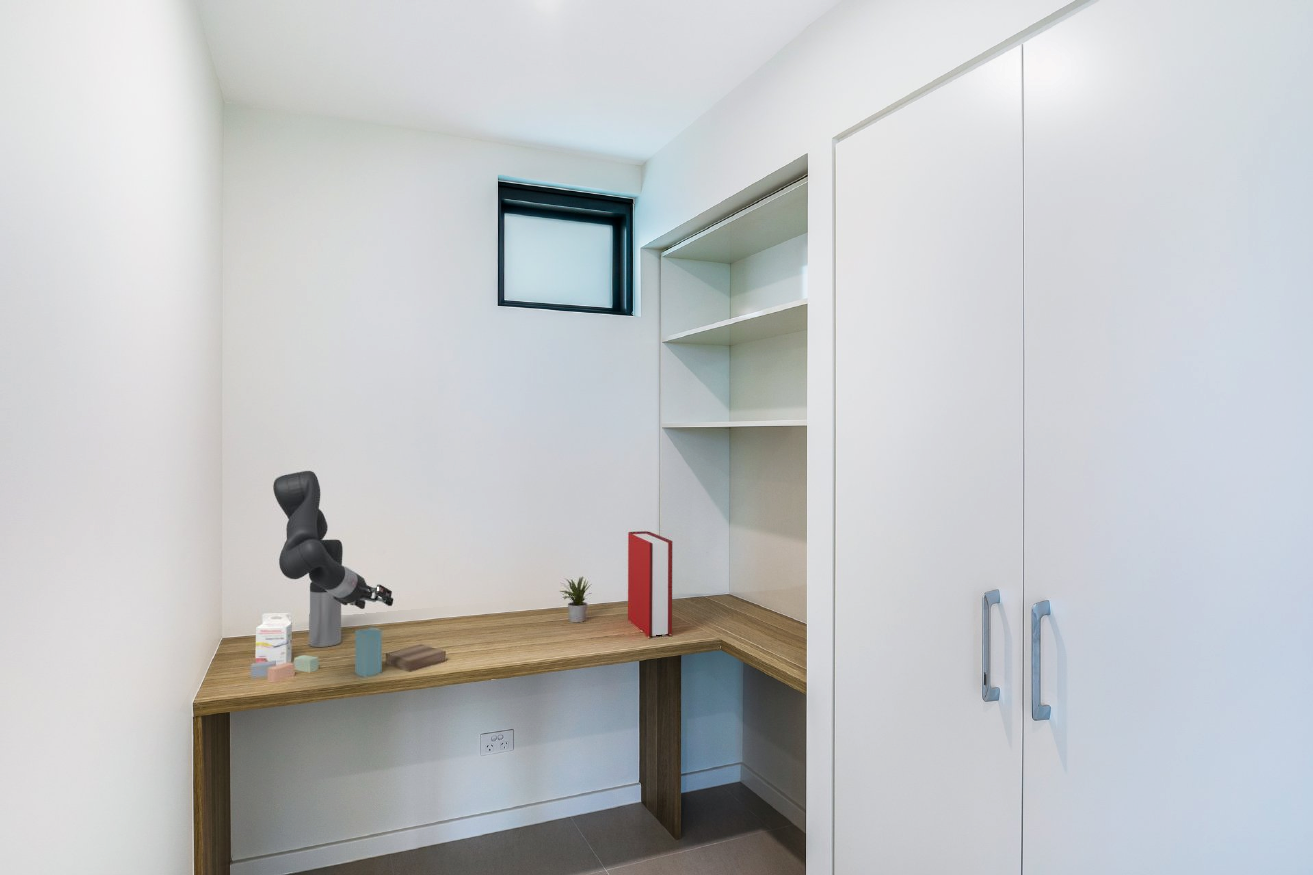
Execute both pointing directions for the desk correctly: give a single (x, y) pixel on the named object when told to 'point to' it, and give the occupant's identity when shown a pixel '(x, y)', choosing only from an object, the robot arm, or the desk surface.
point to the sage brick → (306, 663)
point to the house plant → (577, 601)
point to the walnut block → (415, 657)
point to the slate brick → (261, 669)
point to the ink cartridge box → (274, 639)
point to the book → (650, 582)
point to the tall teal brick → (368, 652)
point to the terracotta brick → (281, 672)
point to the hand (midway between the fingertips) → (377, 604)
